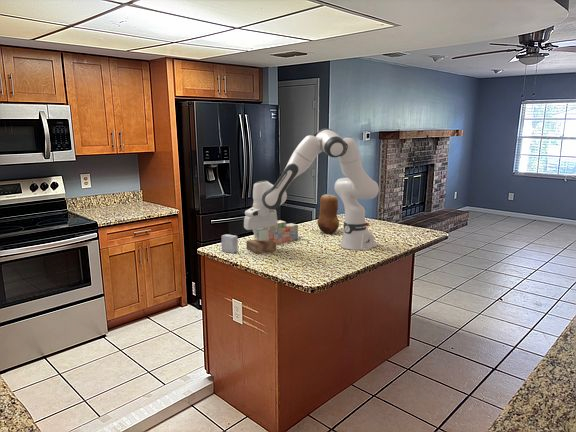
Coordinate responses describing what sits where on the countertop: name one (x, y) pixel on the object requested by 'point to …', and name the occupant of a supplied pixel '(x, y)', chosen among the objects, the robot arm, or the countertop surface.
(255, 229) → the robot arm
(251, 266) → the countertop surface
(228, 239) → the medicine box
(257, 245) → the walnut block
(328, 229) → the butternut squash
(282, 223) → the stack of blocks
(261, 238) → the sage cube
